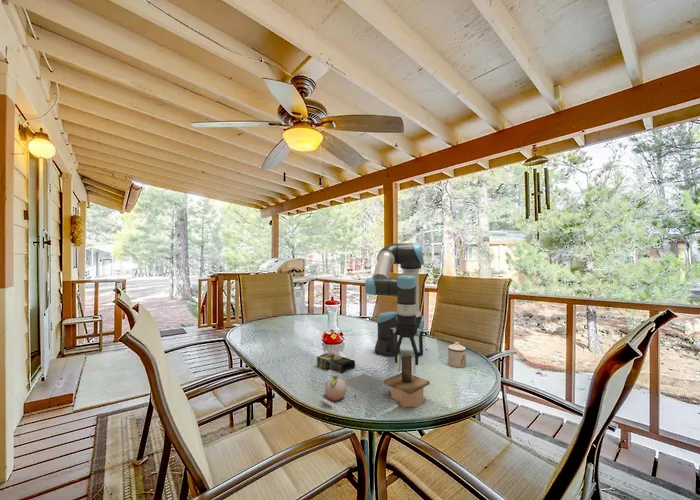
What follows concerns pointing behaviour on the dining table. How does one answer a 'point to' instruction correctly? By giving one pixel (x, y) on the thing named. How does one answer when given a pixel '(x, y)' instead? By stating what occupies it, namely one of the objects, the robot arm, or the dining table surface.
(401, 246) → the robot arm
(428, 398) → the dining table surface
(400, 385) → the lid
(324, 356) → the juice carton
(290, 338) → the dining table surface
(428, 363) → the dining table surface
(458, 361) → the teacup with lid
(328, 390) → the decorative fruit
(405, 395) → the bowl
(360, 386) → the mat
